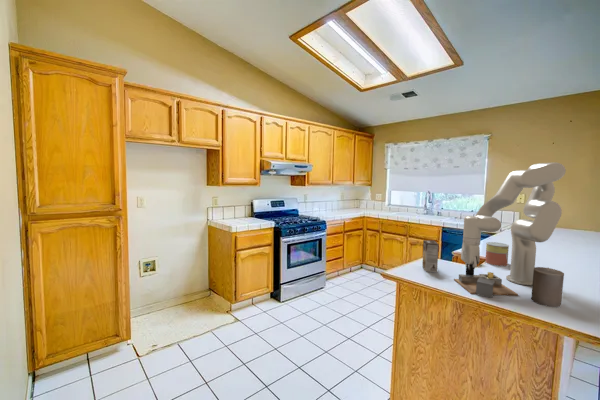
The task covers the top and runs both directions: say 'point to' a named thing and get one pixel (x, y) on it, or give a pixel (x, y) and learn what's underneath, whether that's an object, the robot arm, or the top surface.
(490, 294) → the block
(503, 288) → the board
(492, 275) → the pintle
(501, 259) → the canned food
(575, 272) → the top surface
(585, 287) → the top surface
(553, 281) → the pillar candle
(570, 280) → the top surface
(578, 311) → the top surface
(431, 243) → the coffee box
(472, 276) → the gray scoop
